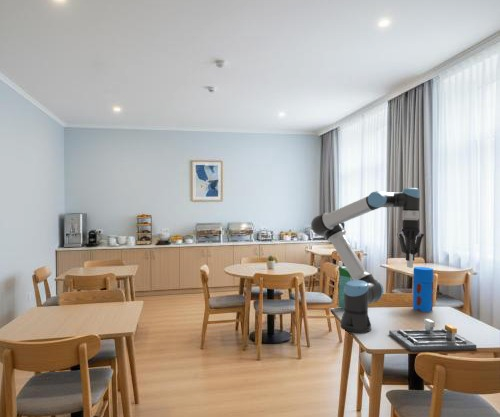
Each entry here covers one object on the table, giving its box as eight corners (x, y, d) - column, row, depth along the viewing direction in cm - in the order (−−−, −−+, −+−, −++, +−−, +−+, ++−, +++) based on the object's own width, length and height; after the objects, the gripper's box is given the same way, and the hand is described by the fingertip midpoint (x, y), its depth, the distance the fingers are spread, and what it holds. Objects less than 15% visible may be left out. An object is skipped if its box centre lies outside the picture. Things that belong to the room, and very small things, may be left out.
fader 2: (451, 342, 162) (452, 328, 162) (444, 338, 167) (444, 324, 167) (456, 342, 162) (456, 328, 162) (449, 338, 167) (449, 324, 167)
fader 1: (430, 335, 170) (430, 322, 170) (423, 331, 175) (424, 318, 175) (434, 335, 170) (434, 322, 170) (428, 331, 176) (428, 318, 175)
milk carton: (349, 310, 216) (350, 268, 216) (338, 307, 224) (339, 266, 224) (360, 308, 221) (360, 267, 221) (348, 305, 229) (349, 265, 228)
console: (411, 351, 157) (411, 343, 157) (388, 334, 177) (389, 327, 177) (476, 349, 159) (476, 342, 159) (447, 333, 180) (447, 326, 180)
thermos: (409, 309, 222) (410, 268, 221) (417, 305, 229) (418, 266, 229) (428, 313, 214) (429, 270, 213) (435, 309, 221) (436, 268, 221)
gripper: (401, 219, 175) (400, 268, 175) (427, 219, 176) (426, 268, 176) (394, 219, 182) (393, 266, 183) (419, 219, 184) (418, 266, 184)
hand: (409, 267), depth 180 cm, fingers closed
